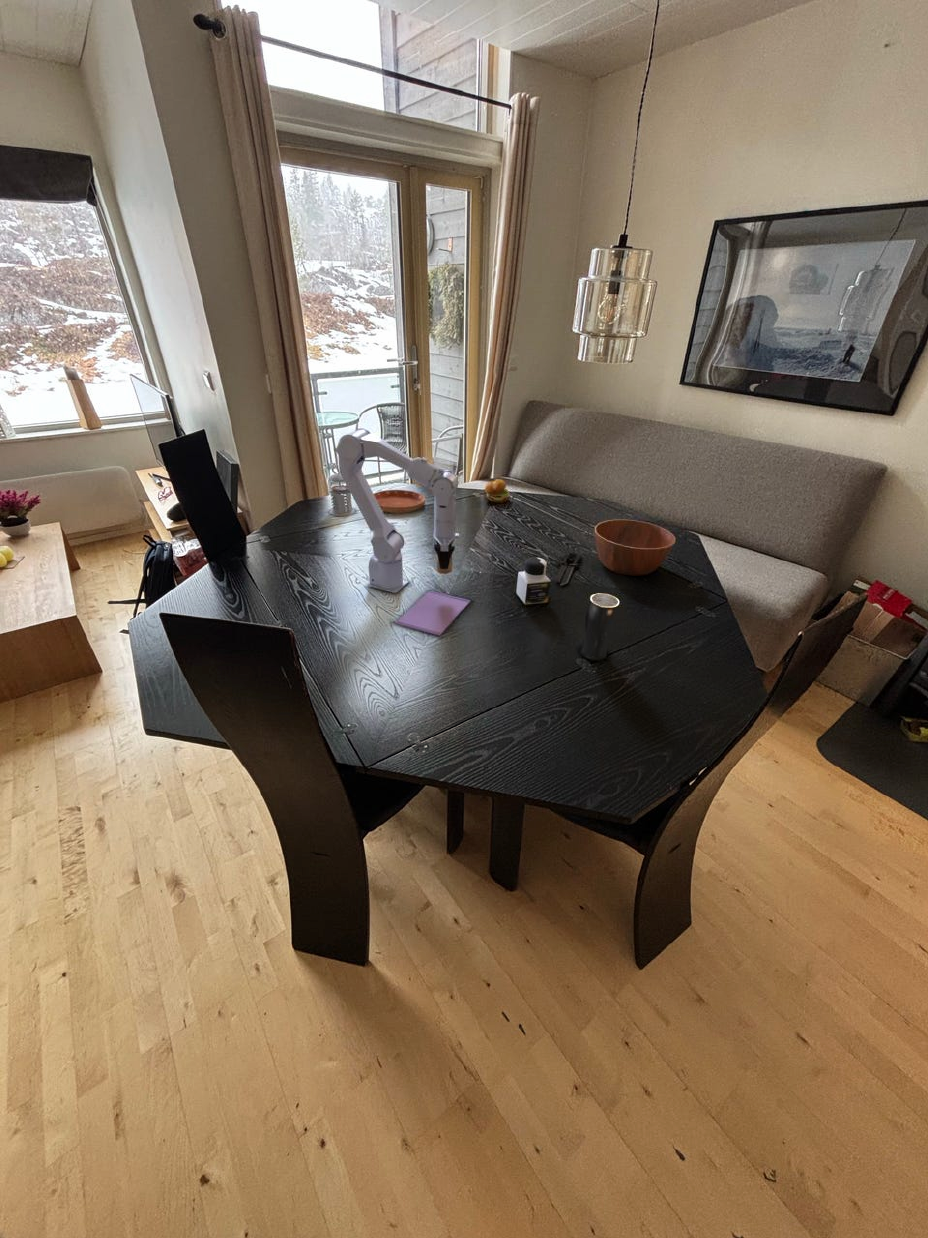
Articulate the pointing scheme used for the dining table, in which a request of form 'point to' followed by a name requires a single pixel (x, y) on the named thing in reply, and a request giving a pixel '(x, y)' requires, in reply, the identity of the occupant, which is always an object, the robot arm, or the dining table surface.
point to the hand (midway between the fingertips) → (444, 564)
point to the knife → (570, 568)
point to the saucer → (399, 500)
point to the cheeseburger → (497, 491)
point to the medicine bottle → (533, 582)
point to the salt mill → (444, 571)
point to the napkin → (433, 613)
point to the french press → (340, 496)
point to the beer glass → (599, 625)
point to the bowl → (632, 546)
